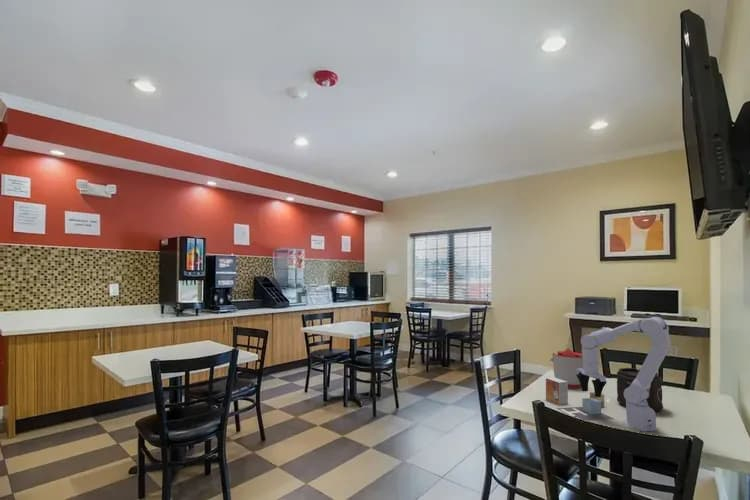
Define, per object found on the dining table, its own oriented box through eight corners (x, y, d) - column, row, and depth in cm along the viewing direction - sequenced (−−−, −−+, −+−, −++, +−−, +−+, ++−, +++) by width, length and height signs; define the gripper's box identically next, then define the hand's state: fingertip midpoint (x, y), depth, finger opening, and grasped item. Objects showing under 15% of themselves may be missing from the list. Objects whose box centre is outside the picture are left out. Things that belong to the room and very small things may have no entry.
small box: (545, 400, 181) (545, 377, 182) (554, 399, 183) (554, 376, 183) (559, 405, 173) (558, 382, 174) (568, 404, 175) (568, 381, 176)
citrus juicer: (558, 379, 217) (557, 344, 219) (590, 386, 204) (589, 349, 205) (544, 384, 208) (544, 347, 209) (578, 392, 194) (577, 352, 195)
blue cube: (601, 413, 162) (601, 401, 163) (591, 414, 162) (590, 402, 162) (592, 409, 167) (592, 398, 168) (582, 410, 166) (582, 398, 167)
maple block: (604, 407, 171) (604, 394, 172) (596, 408, 171) (596, 394, 171) (597, 404, 175) (597, 391, 176) (590, 405, 175) (589, 392, 175)
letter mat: (614, 420, 157) (614, 418, 157) (580, 422, 154) (580, 421, 154) (587, 407, 171) (587, 406, 172) (556, 409, 169) (556, 408, 169)
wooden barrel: (653, 402, 180) (652, 368, 181) (671, 416, 162) (670, 378, 163) (610, 398, 185) (609, 365, 186) (623, 411, 167) (622, 375, 168)
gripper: (571, 358, 172) (571, 389, 171) (595, 366, 158) (595, 399, 157) (584, 358, 174) (585, 388, 173) (609, 365, 159) (610, 399, 158)
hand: (591, 393), depth 165 cm, fingers open, 7 cm apart
